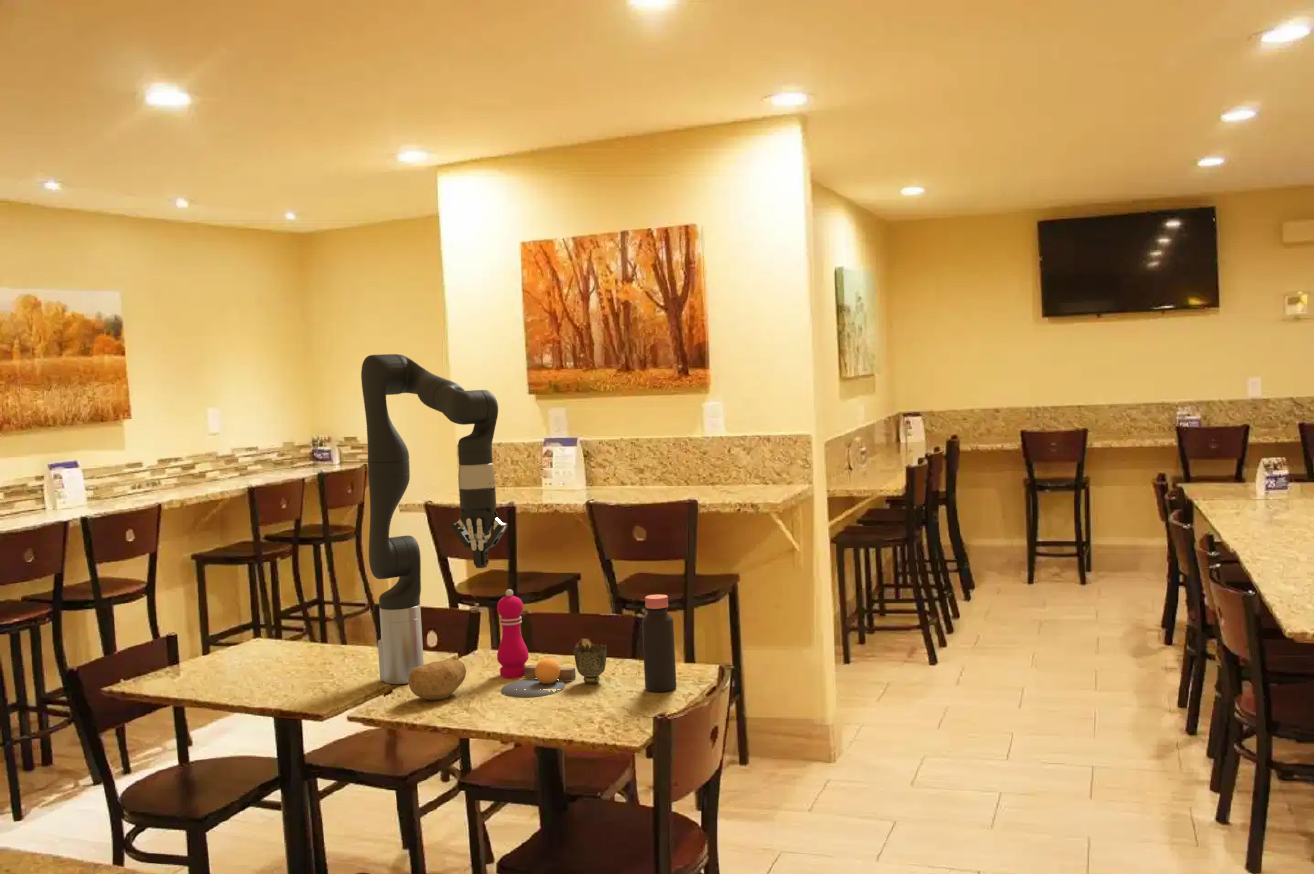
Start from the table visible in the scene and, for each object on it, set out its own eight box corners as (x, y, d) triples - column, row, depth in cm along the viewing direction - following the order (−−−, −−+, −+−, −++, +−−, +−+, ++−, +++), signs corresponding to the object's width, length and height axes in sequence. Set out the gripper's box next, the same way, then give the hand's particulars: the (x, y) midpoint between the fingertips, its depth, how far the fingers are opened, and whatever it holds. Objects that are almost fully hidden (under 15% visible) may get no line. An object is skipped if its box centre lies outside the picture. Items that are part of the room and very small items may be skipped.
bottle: (648, 683, 237) (644, 593, 236) (679, 684, 235) (674, 593, 234) (642, 692, 230) (637, 599, 229) (673, 693, 229) (668, 599, 228)
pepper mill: (535, 672, 251) (531, 587, 250) (515, 680, 245) (511, 593, 244) (512, 669, 255) (507, 585, 254) (491, 677, 249) (486, 591, 248)
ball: (530, 684, 239) (530, 659, 239) (541, 681, 244) (542, 656, 245) (553, 686, 237) (553, 660, 237) (564, 683, 242) (564, 657, 243)
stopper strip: (524, 678, 247) (524, 667, 247) (529, 675, 248) (528, 665, 248) (571, 681, 242) (571, 670, 242) (575, 678, 244) (575, 667, 244)
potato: (479, 692, 236) (477, 656, 236) (427, 709, 226) (425, 671, 225) (450, 686, 243) (448, 651, 242) (399, 702, 232) (396, 665, 232)
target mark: (489, 695, 234) (488, 694, 234) (520, 677, 247) (520, 677, 247) (546, 699, 229) (546, 698, 229) (575, 681, 242) (575, 680, 242)
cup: (603, 687, 236) (601, 651, 235) (571, 687, 237) (569, 651, 237) (612, 678, 243) (610, 642, 243) (580, 677, 245) (578, 643, 244)
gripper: (440, 487, 225) (444, 570, 226) (495, 487, 220) (499, 571, 221) (459, 484, 232) (464, 563, 233) (513, 483, 227) (517, 565, 228)
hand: (481, 567), depth 227 cm, fingers closed
